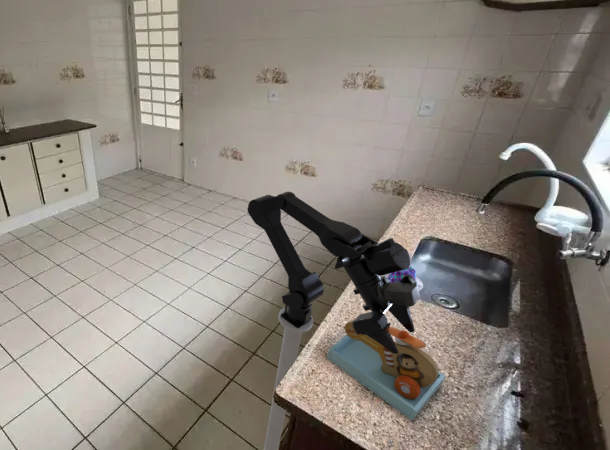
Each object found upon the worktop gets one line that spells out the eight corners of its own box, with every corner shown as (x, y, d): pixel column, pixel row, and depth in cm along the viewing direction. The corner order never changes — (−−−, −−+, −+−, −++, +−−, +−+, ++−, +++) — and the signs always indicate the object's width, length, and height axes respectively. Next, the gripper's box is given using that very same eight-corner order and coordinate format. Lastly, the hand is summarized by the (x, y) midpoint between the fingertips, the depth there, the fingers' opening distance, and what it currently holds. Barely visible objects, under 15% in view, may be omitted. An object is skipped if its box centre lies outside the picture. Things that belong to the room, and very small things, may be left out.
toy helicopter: (418, 408, 76) (439, 364, 69) (332, 348, 90) (343, 307, 84) (434, 387, 80) (455, 345, 74) (349, 334, 95) (361, 294, 88)
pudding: (398, 267, 123) (402, 255, 120) (430, 287, 113) (436, 274, 110) (372, 275, 119) (376, 263, 116) (404, 297, 109) (409, 283, 106)
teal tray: (326, 357, 89) (328, 349, 87) (357, 332, 96) (360, 323, 95) (412, 420, 74) (416, 411, 72) (441, 384, 81) (445, 375, 80)
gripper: (381, 288, 67) (427, 363, 65) (416, 253, 78) (456, 316, 76) (334, 300, 76) (373, 366, 74) (372, 267, 87) (407, 324, 85)
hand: (404, 342), depth 77 cm, fingers open, 9 cm apart
